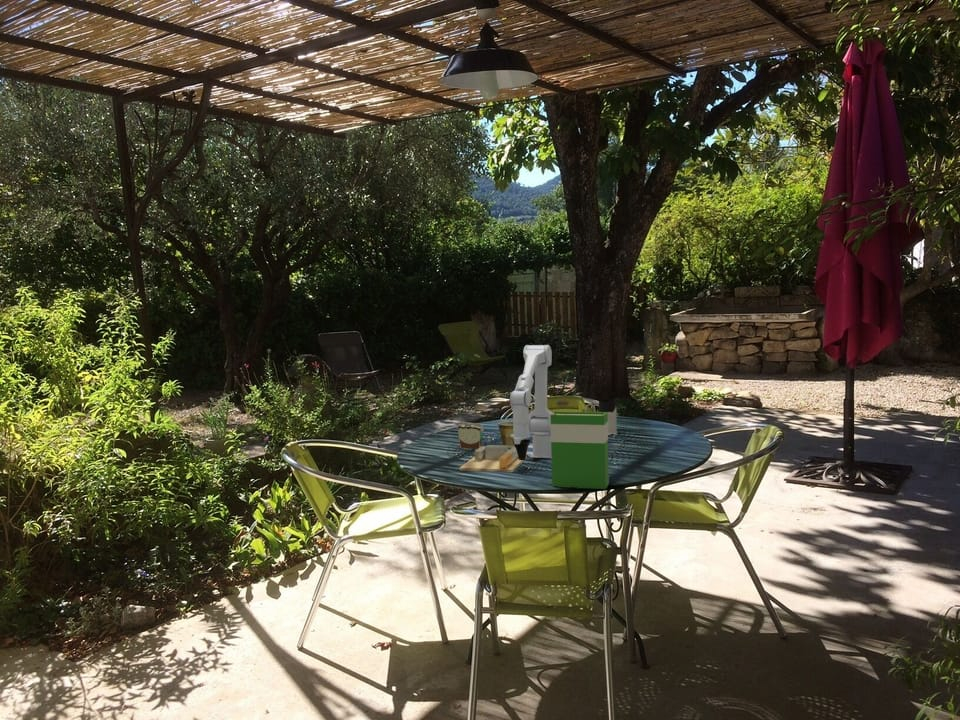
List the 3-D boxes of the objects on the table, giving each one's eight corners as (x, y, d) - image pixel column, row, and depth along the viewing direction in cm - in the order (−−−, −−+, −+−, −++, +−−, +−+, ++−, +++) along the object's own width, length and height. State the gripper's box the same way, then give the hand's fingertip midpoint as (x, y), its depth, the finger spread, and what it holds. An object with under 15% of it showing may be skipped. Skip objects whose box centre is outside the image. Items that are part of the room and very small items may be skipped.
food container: (489, 447, 317) (489, 424, 317) (482, 450, 312) (481, 426, 311) (464, 445, 324) (464, 422, 323) (457, 448, 318) (456, 424, 318)
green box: (552, 486, 250) (550, 415, 248) (556, 481, 257) (555, 411, 255) (605, 489, 245) (604, 415, 243) (608, 483, 252) (607, 412, 250)
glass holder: (619, 435, 334) (618, 402, 332) (587, 436, 334) (586, 403, 333) (616, 432, 342) (615, 399, 341) (584, 433, 343) (584, 400, 341)
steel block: (507, 458, 291) (507, 445, 290) (505, 460, 287) (504, 447, 287) (488, 457, 293) (487, 444, 293) (485, 459, 289) (484, 447, 289)
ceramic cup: (521, 449, 312) (520, 425, 311) (497, 449, 314) (496, 425, 313) (525, 442, 325) (524, 419, 324) (502, 442, 327) (501, 419, 326)
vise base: (526, 458, 294) (526, 446, 294) (512, 472, 272) (511, 459, 272) (477, 457, 300) (477, 445, 299) (459, 470, 278) (459, 457, 277)
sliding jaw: (519, 456, 293) (519, 447, 292) (506, 467, 274) (505, 458, 273) (513, 455, 293) (512, 447, 293) (499, 467, 274) (499, 458, 274)
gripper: (515, 419, 283) (516, 455, 284) (505, 426, 269) (506, 463, 271) (533, 419, 281) (534, 455, 282) (524, 426, 267) (525, 464, 268)
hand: (522, 459), depth 276 cm, fingers closed
